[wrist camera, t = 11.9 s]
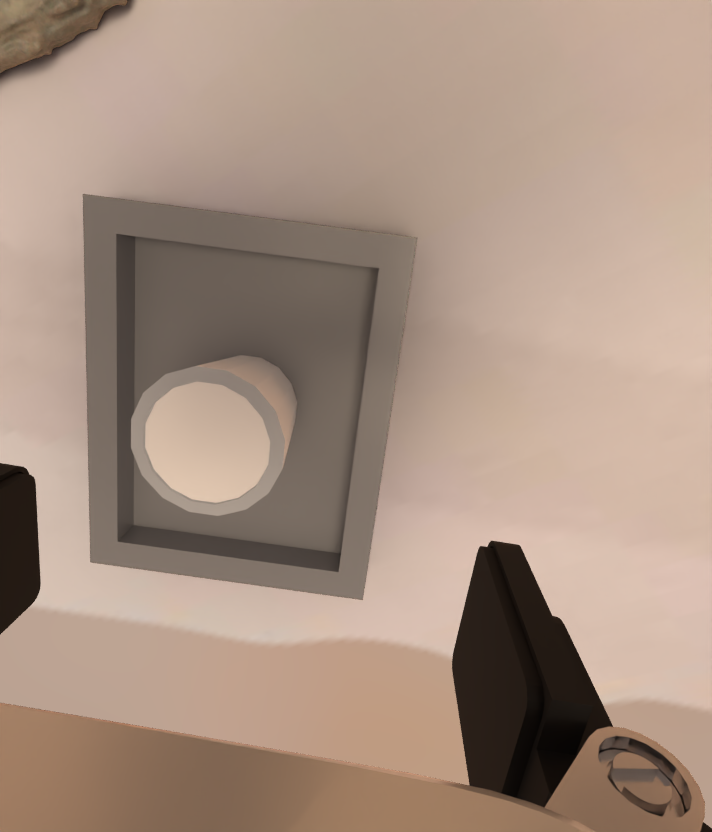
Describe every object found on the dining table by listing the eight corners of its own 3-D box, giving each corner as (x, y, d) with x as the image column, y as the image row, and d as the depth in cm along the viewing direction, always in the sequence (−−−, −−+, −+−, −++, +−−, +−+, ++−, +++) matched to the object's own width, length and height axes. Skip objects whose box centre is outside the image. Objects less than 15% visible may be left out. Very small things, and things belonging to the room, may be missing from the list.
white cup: (226, 480, 30) (180, 539, 23) (164, 376, 29) (97, 408, 22) (329, 432, 29) (312, 480, 22) (271, 322, 28) (234, 338, 21)
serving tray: (114, 201, 27) (82, 193, 24) (413, 241, 27) (417, 237, 24) (116, 536, 33) (90, 562, 30) (364, 570, 33) (362, 600, 30)
